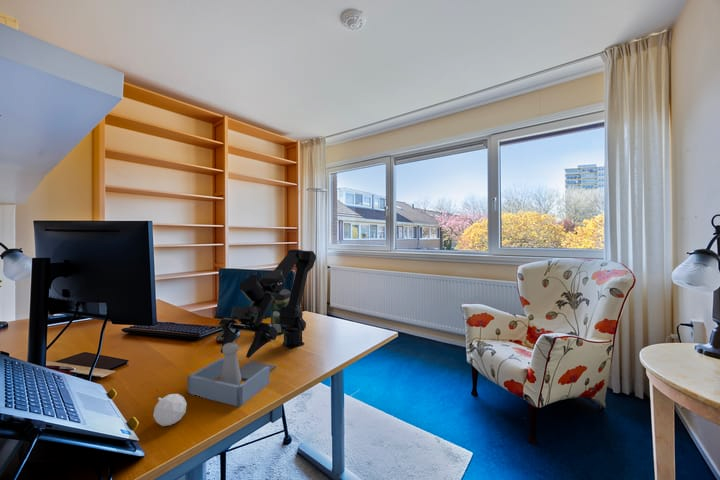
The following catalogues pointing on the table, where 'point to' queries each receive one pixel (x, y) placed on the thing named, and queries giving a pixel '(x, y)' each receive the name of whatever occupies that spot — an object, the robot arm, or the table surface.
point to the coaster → (253, 369)
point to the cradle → (225, 385)
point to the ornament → (169, 409)
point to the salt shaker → (230, 364)
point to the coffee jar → (279, 308)
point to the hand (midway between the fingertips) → (234, 355)
